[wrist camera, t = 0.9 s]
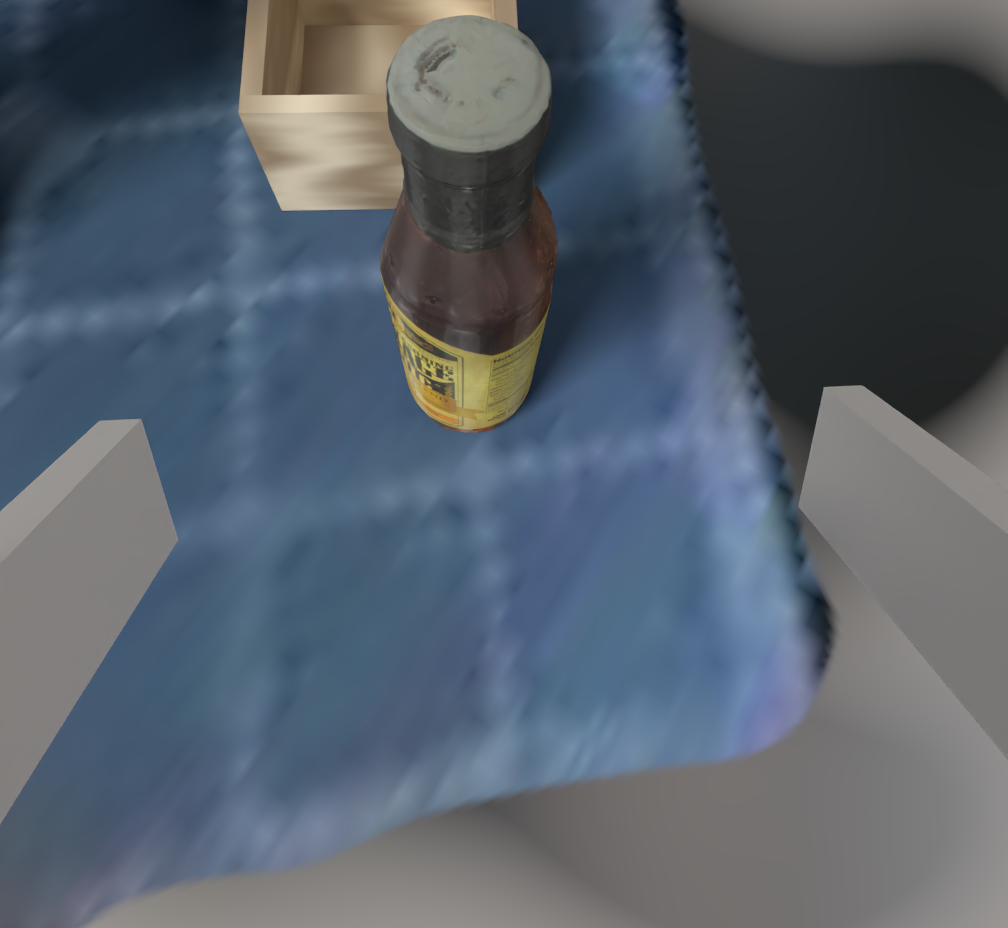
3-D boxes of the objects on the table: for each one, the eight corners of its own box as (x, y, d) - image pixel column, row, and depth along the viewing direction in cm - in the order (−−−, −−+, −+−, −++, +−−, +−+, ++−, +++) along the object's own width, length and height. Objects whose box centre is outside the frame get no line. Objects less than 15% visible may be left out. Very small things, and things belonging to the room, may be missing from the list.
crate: (281, 210, 38) (238, 113, 31) (293, 27, 41) (256, -96, 35) (515, 207, 38) (522, 110, 32) (506, 26, 42) (510, -95, 35)
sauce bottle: (393, 353, 36) (289, -3, 17) (503, 313, 36) (524, -70, 17) (438, 464, 34) (380, 212, 15) (552, 420, 35) (636, 128, 16)
